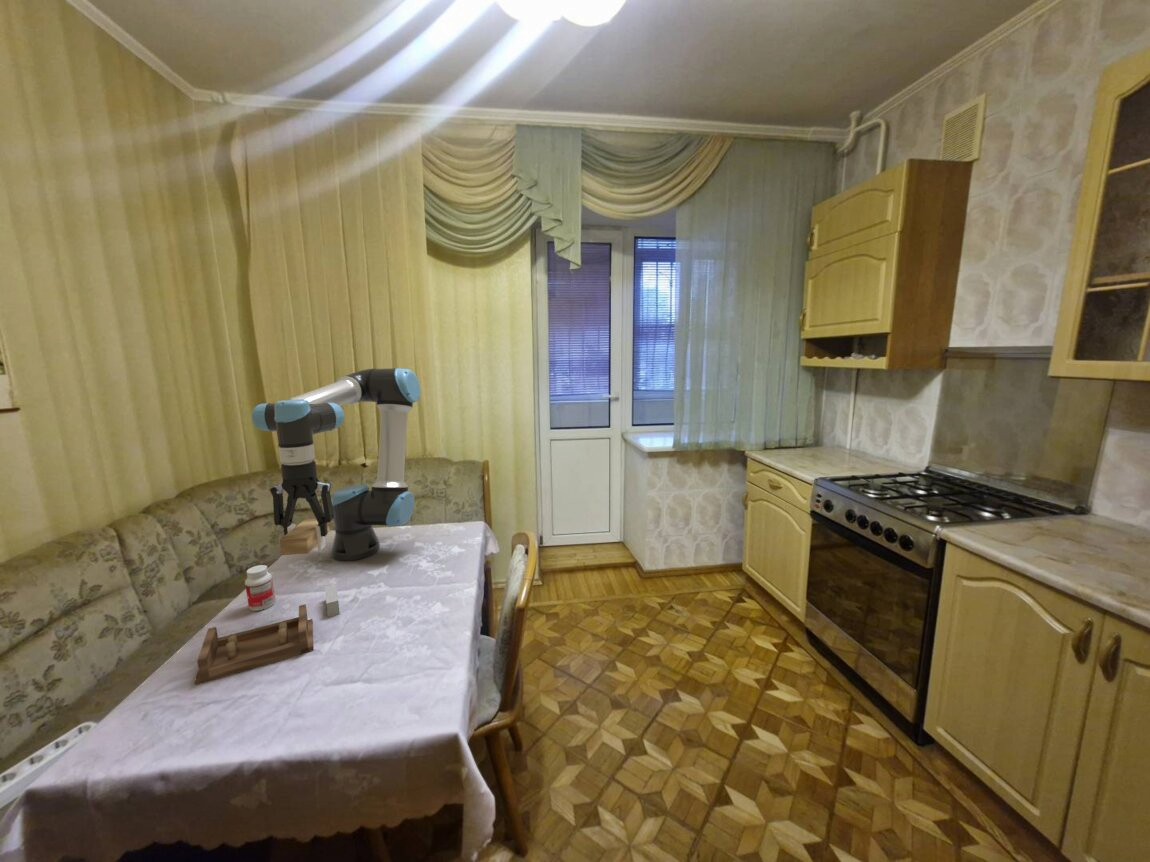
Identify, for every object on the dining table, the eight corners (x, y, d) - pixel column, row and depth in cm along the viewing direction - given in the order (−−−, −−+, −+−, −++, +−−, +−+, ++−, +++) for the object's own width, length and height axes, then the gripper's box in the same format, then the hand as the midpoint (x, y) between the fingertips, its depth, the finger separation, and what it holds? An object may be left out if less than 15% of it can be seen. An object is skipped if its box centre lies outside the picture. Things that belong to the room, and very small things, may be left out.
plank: (306, 533, 124) (305, 519, 124) (330, 531, 125) (328, 517, 125) (281, 555, 111) (279, 539, 110) (308, 553, 112) (306, 538, 111)
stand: (326, 599, 130) (324, 586, 129) (337, 596, 132) (336, 584, 131) (328, 617, 122) (326, 603, 121) (339, 614, 123) (338, 600, 122)
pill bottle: (254, 601, 130) (249, 565, 128) (278, 598, 131) (273, 562, 129) (245, 613, 124) (238, 575, 122) (270, 610, 125) (264, 572, 123)
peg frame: (206, 650, 109) (202, 630, 108) (312, 622, 120) (310, 603, 119) (195, 685, 98) (191, 662, 97) (313, 650, 108) (310, 629, 107)
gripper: (248, 466, 109) (260, 557, 113) (332, 463, 112) (341, 552, 116) (265, 459, 117) (275, 545, 121) (343, 456, 119) (351, 540, 123)
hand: (308, 548), depth 118 cm, fingers closed on plank, 6 cm apart
